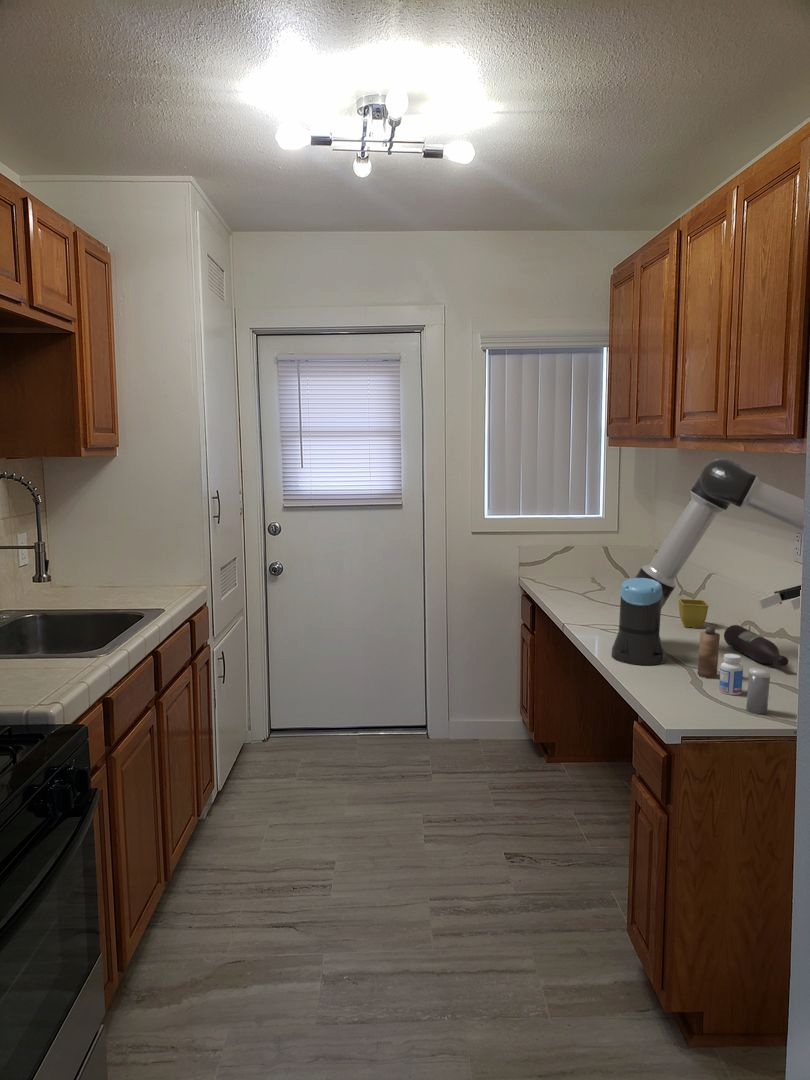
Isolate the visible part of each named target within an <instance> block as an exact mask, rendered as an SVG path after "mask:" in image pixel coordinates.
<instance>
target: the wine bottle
mask: <svg viewBox="0 0 810 1080" xmlns="http://www.w3.org/2000/svg"><path fill="white" fill-rule="evenodd" d="M723 639H724V641H725V643H726V644H727V645H728V646H730V647H732V648H734V650H735V649H736V651H739V652H741V653H742V654H744V655H746V656H747V657H749V658H751V659H752V660H753V661H756V662H758V663H761V664H764V665H771V664H774V663H776V664H777V665H778V666H780V667H785V666H787V665H788V664H789V659H788V657H786V656H784V655H781V654H780V651H779V648H778V646H777V645H776V644H775V643H774V642H772V641H771V640H769V639H767V638H765V637H764V636H761V635H759V634H757V633H755V632H753V631H752V630H749V629H747V628H745V627H743V626H741V625H738V624H732V625H729V626H728V627H727V628H726V629H725V631H724V633H723Z"/></svg>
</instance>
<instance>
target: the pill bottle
mask: <svg viewBox="0 0 810 1080" xmlns="http://www.w3.org/2000/svg"><path fill="white" fill-rule="evenodd" d="M741 659H742V657H741V655H739V654H736V653H725V654H723V661H724V662H721V664H720V669H719V670H720V671H719V690H718V691H719V692H721V693H722V694H725V695H731V696H738V695H741V694H742V690H743V676H744V667H743V665H742V664H741Z"/></svg>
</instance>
